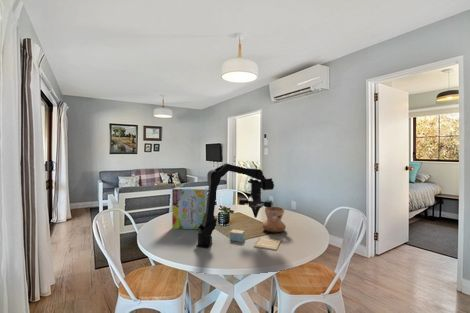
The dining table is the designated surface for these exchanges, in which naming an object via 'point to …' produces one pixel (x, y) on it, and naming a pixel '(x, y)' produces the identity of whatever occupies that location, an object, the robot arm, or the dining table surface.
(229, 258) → the dining table surface
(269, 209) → the ceramic jug
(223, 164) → the robot arm
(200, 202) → the snack box
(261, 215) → the dining table surface
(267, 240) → the pad
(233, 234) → the stub
